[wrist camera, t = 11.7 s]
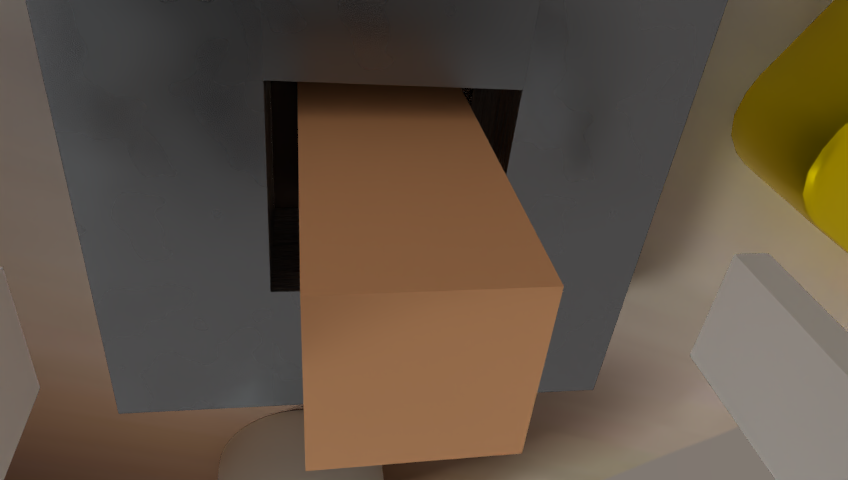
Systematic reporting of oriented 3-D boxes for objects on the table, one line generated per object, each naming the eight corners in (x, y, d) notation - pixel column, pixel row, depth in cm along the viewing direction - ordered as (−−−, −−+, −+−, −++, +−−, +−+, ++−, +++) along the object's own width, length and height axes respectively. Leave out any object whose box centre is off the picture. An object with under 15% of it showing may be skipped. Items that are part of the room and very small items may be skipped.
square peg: (300, 186, 20) (305, 471, 12) (297, 55, 18) (300, 296, 10) (432, 185, 21) (521, 453, 13) (445, 58, 18) (564, 286, 10)
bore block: (144, 317, 22) (118, 413, 19) (56, -193, 14) (-16, -181, 11) (553, 307, 24) (592, 389, 21) (671, -128, 17) (763, -104, 13)
